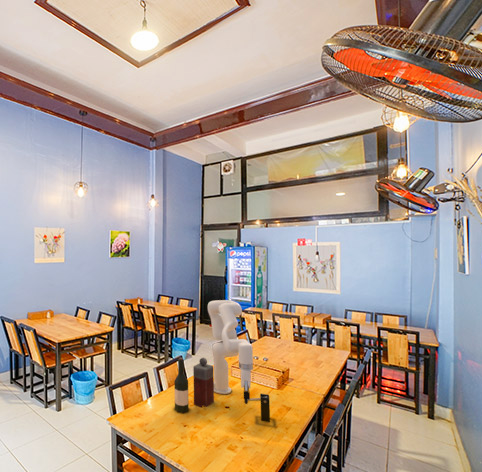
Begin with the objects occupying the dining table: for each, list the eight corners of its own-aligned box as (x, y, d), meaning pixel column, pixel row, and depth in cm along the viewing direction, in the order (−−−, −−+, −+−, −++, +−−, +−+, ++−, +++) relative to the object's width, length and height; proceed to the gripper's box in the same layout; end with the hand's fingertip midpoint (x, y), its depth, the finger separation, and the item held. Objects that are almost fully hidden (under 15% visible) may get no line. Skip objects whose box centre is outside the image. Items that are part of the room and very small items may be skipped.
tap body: (256, 423, 169) (256, 397, 170) (256, 416, 177) (255, 391, 178) (274, 426, 166) (274, 400, 167) (273, 419, 174) (273, 394, 174)
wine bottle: (173, 406, 189) (172, 356, 190) (186, 405, 190) (185, 355, 191) (176, 413, 181) (175, 360, 182) (190, 412, 181) (189, 360, 183)
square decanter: (216, 402, 193) (215, 357, 194) (206, 409, 185) (205, 361, 186) (203, 398, 199) (202, 353, 201) (193, 404, 191) (193, 358, 193)
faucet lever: (244, 404, 173) (243, 400, 173) (245, 400, 179) (244, 395, 179) (268, 403, 169) (267, 399, 169) (267, 399, 174) (266, 394, 175)
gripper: (239, 360, 185) (240, 392, 184) (238, 369, 171) (239, 403, 170) (252, 362, 182) (253, 394, 181) (253, 371, 168) (254, 405, 167)
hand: (246, 398), depth 175 cm, fingers closed
